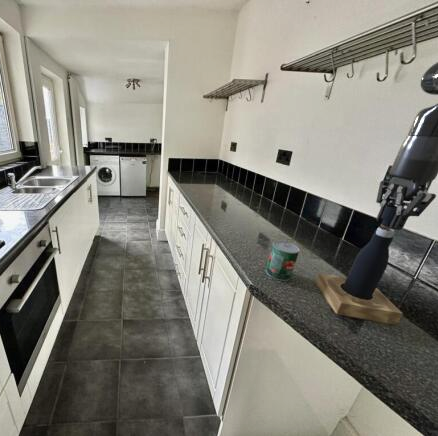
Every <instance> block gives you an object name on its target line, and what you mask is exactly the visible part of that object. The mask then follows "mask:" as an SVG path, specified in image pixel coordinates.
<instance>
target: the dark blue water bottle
mask: <svg viewBox="0 0 438 436" xmlns="http://www.w3.org/2000/svg"><path fill="white" fill-rule="evenodd" d="M405 209H406V208H405V207H404V209H403V210H405ZM396 211H397V205H395V206H392V205H387V206H386V207H385V209H384V211H383V214H382V216H381V218H382V219H384V220H383V222H381V223H380V226H378V228H376V230H375V231H374V233H373V234H372V236H371V239H370V241H369V242H367V244H366V245H365V246H363V247H362V248H361V249H360V251H359V252H358V253H357V254H356V255H355V258H354V261H353V263H352V265H351V266H350V267H351V268H350V270H349V272H348V275H347V276H346V277H347V279H346V281H345V283H344V286H343V288H342V289H343V290H344V291H345V292H346V293H348V294H350V295H352V296H354V297H356V298H359V299H364V300H370V299H371V297H372V295H373V293H374V291H375V289H376V288H377V287H378V285H379V283H380V281H381V279H382V278H383V276H384V274H385V272H386V269H387V267H388V264H389V259H390V245H391V244H392V242H393V240H394V234H395V230H394V229H391V228H389V226H390V224H391V222H392V220H393V218H394V216H395V214H396Z"/></svg>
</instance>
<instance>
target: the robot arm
mask: <svg viewBox="0 0 438 436" xmlns="http://www.w3.org/2000/svg"><path fill="white" fill-rule="evenodd" d="M419 85H420V88H421V90H422V91H423V92H424V93H426V94H429V95H433V96H438V61H437V62H435V63H434V64H432V65H431V66H430V67H429V68H428V69H427V70H426V71H425V72H424V73H423V75H422V76H421V78H420V83H419ZM388 173H389V175H390V176H391V177H392V178H391V179H390V180H381V181H380V182H379V187H378V191H377V196H376V203H377V204H379V207H380V209H379V211H378V214H377V215H376V221H377V222H379V223H382V222H383V220H384V219H382V218H381V216H382V214H383V211H384V209H385V207H386V206H387V205H392V206H397V211H396V214H395V216H394V218H393V220H392V222H391V224H390V226H389V228H391V229H393V230H394V231H401V230H402V229H404V227H405V225H406V223H407V221H408V219H409V218H410V217H420V216H421V215H422V214H423V212H424V211H425V210H426V209H427V208H428V207H429V206H430V204H431V203H432V202H433V201H434V200H435V199H436V197H437V195H436V194H435V193H432V192H431V193H430V192H428V191H427V184H428V182H430V181H434V180H435V179H436V178H437V176H438V102H437V103H436V104H434V105H431V106H428V107H424V108H422V109H421V110H419V111H418V112H417V114H416V115H415V117H414V118H413V121H412V123H411V126H410V128H409V130H408V133H407V135H406V137H405V139H404V140H403V142H402V144H401V145H400V147H399V149H398V152H397V154H396V156H395V159H394V161H393V163H392V166H391V167H390V170H389V172H388ZM405 207H406V208H405ZM404 208H405V210H403V209H404Z"/></svg>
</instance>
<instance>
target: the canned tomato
mask: <svg viewBox="0 0 438 436" xmlns="http://www.w3.org/2000/svg"><path fill="white" fill-rule="evenodd" d="M300 250H301V249H300V248H299V247H298V246H297V245H296V244H294V243H291V242H289V241H283V240H276V241H273V242H272V246H271V249H270V253H269V257H268V261H267V264H266V268H265V273H266V275H268V277H270V278H272V279H274V280H277V281H280V282H288V281H290V280H291V278H292V276H293V272H294V268H295V266H296V263H297V260H298V257H299V254H300Z"/></svg>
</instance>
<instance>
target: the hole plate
mask: <svg viewBox="0 0 438 436" xmlns="http://www.w3.org/2000/svg"><path fill="white" fill-rule="evenodd" d="M347 277H348V276H340V275H333V274H327V273H318V276H317V277H316V281H315V285H316V286H317V288H318V289H319V291H320V292H321V294H322V295H323V297H324V298H325V300H326V301H327V303H328V304H329V306H330V307H331V309H332V310H333V311H334V313H335V314H336V315H339V316H346V317H349V318H357V319H361V320H368V321H373V322H377V323H378V322H379V323H382V324H383V323H384V324H389V325H394V326H396V325H397V324H398V323H399V321H400V319H401V317H402V316H403V315H404V313H403V312H402V311H401V310H400V309H399V308H398V307H397V306H396V305H395V304H394V303H393V302H392V301H390V300H389V298H388V297H387V296H386V295H384V294H383V293H382V291H380V290H379V289H378V288H377V287H376V289H375V291H374V293H373V295H372V297H371V299H370V300H364V299H359V298H356V297H354V296H352V295H350V294H348V293H346V292H345V291H344V290H343V289H342V288H343V286H344V283H345V281H346V279H347Z"/></svg>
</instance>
